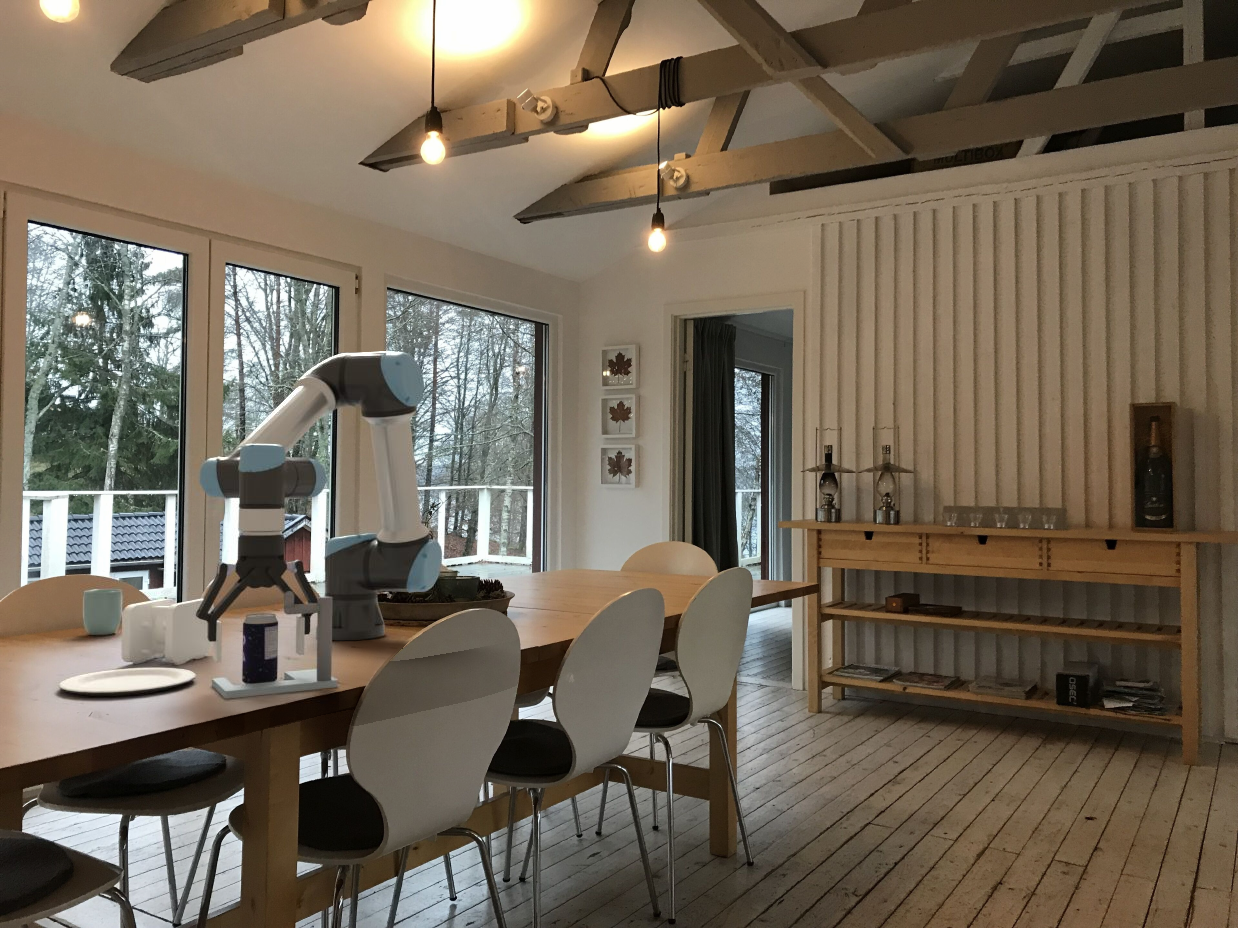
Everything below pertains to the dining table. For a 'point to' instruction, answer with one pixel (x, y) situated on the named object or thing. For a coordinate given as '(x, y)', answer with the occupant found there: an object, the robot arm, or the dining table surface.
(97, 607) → the cup
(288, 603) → the l-shaped desk stand
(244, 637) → the beverage can
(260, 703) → the dining table surface
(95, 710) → the dining table surface
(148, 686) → the plate
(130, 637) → the cable organizer
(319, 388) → the robot arm
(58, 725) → the dining table surface
